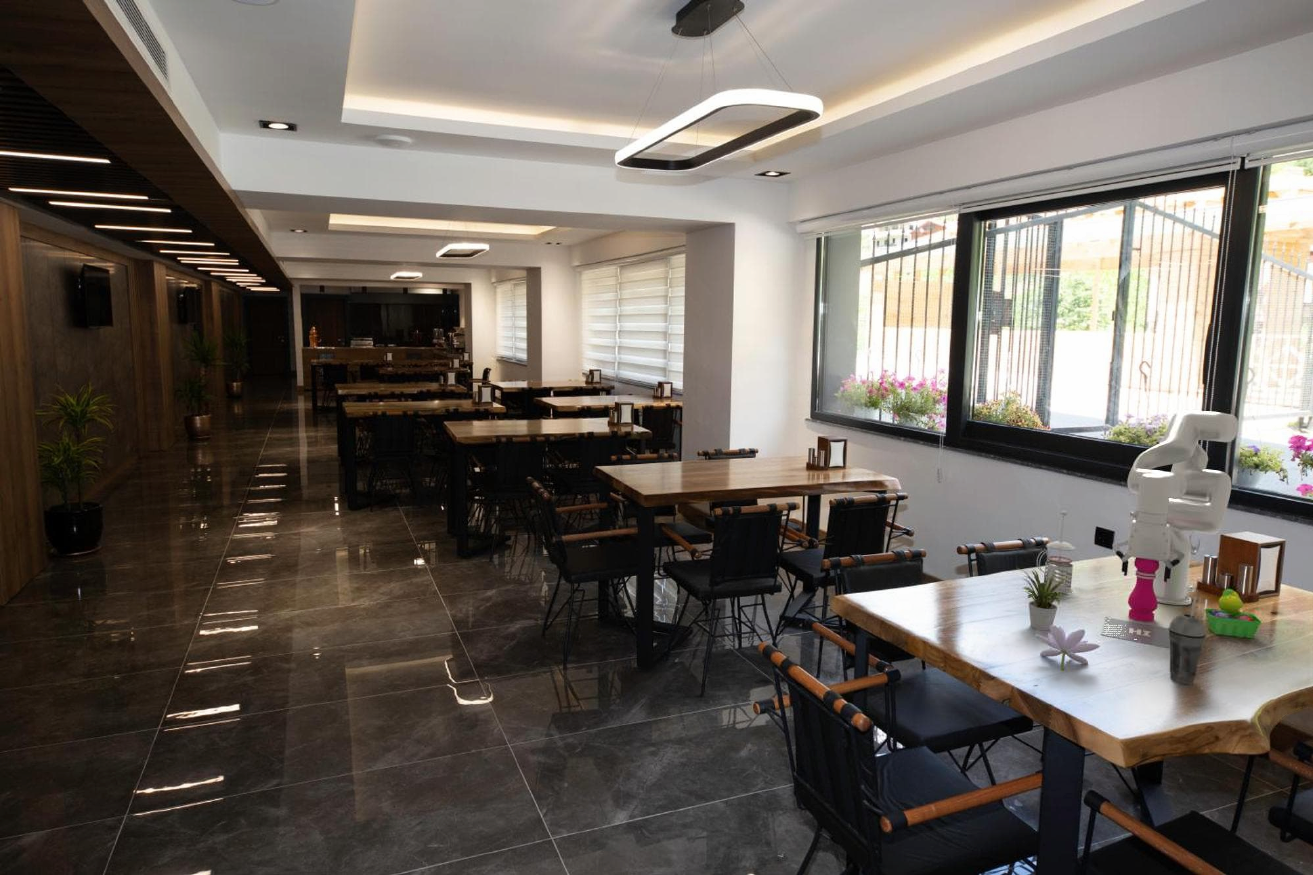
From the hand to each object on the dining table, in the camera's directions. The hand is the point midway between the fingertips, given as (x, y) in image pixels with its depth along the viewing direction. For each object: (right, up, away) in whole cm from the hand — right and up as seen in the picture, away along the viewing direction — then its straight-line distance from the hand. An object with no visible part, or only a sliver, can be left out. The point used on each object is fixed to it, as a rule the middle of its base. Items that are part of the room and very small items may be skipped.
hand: (1145, 577), depth 227 cm
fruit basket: (+18, -14, -8) cm, 24 cm away
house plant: (-34, -12, -7) cm, 37 cm away
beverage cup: (-16, -17, -41) cm, 47 cm away
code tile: (-8, -13, -10) cm, 18 cm away
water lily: (-39, -15, -33) cm, 53 cm away
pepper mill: (0, -12, +2) cm, 12 cm away
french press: (-12, -8, +27) cm, 31 cm away
